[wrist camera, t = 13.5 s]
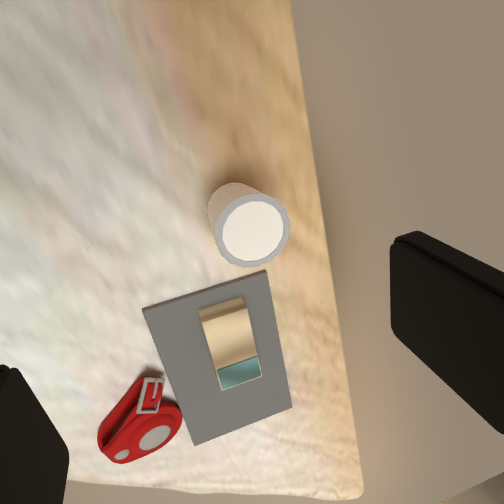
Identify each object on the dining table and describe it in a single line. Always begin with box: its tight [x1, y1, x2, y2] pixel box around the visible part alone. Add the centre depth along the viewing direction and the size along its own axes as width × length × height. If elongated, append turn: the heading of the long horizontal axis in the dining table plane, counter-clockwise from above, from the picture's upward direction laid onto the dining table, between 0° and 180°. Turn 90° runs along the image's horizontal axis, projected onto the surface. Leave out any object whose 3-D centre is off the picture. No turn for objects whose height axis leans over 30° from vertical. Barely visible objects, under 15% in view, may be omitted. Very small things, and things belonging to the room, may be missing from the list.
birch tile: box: [198, 297, 262, 391], centre depth 43 cm, size 10×5×3 cm, turn 10°
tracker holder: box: [97, 377, 182, 464], centre depth 44 cm, size 12×4×10 cm
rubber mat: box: [142, 270, 292, 446], centre depth 46 cm, size 14×22×1 cm, turn 11°
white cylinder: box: [207, 183, 290, 268], centre depth 35 cm, size 7×7×7 cm
